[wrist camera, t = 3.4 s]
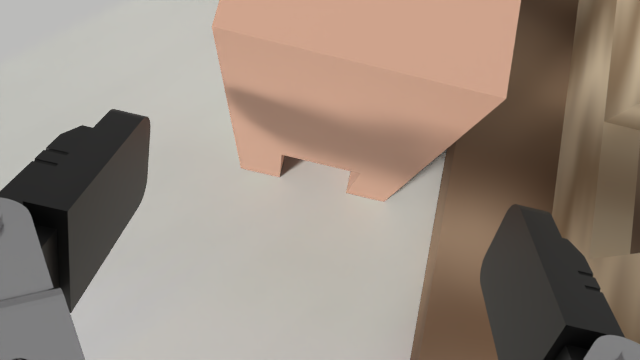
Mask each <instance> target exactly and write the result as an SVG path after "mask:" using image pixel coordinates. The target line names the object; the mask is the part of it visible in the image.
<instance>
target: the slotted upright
mask: <svg viewBox="0 0 640 360" xmlns="http://www.w3.org/2000/svg"><path fill="white" fill-rule="evenodd" d="M520 4H521V0H219V4H218V7H217V11H216V14H215V18H214V21H213V25H212V30H213V34H214V39H215V44H216V49H217V54H218V59H219V63H220V68H221V73H222V78H223V83H224V88H225V93H226V97H227V102H228V107H229V112H230V117H231V122H232V126H233V131H234V136H235V141H236V146H237V151H238V155H239V160H240V165H241V168H243V169H247V170H251V171H256V172H260V173H264V174H268V175H273V176H277V177H280V173H281V169H282V165H283V161H284V157H285V156H289V157H294V158H298V159H302V160H306V161H310V162H315V163H319V164H323V165H327V166H332V167H336V168H340V169H344V170H348V171H351V173H350V177H349V182H348V187H347V191H346V193H349V194H354V195H358V196H362V197H366V198H371V199H375V200H379V201H383V202H384V201H385V200H387V199H388V198H389V197H390V196H391V195H393V194H394V193H395V192H396V191H397V190H398V189H400V188H401V187H402V186H403V185H404V184H406V183H407V182H408V181H409V180H410V179H412V178H413V177H414V176H415V175H416V174H417V173H419V172H420V171H421V170H422V169H423V168H425V167H426V166H427V165H428V164H429V163H431V162H432V161H433V160H434V159H435V158H436V157H438V156H439V155H440V154H441V153H442V152H444V151H445V150H446V149H447V148H448V147H450V146H451V145H452V144H453V143H454V142H455V141H457V140H458V139H459V138H460V137H461V136H463V135H464V134H465V133H466V132H467V131H469V130H470V129H471V128H472V127H473V126H474V125H476V124H477V123H478V122H479V121H480V120H482V119H483V118H484V117H485V116H486V115H488V114H489V113H490V112H491V111H492V110H493V109H495V108H496V107H497V106H498V105H499V104H501V103H502V102H503V101H504V100H505V99H506V97H507V90H508V83H509V77H510V70H511V63H512V57H513V50H514V44H515V37H516V30H517V24H518V17H519V11H520Z"/></svg>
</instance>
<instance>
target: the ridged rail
mask: <svg viewBox="0 0 640 360" xmlns="http://www.w3.org/2000/svg"><path fill="white" fill-rule="evenodd" d="M514 204H518V205H522V206H526V207H530V208H535V209H539V210H543V211H547V212H549V213H550V214H551V215H552V217H553V219H554V221H555V223H556V226H557V228H558V230H559V232H560V234H561V236H562V238H565V239H568V240H569V241H570V242H571V243H572V244H573V245H574V246H575V247H576V248H577V249H578V250H579V251H580V252H581V253H582V254H583V255H584V256H585V258H586V260H587V262H588V264H589V266H590V268H591V270H592V272H593V277H594V278H596V280H597V282H598V284H599V286H600V288H601V289H600V292H602V293H603V294H604V296H605V298H606V300H607V302H608V304H609V306H610V308H611V310H612V312H613V314H614V316H615V318H616V320H617V322H618V324H619V326H620V328H621V330H622V332H623V334H624V336H625V338H627V339H630V340H632V341H634V342H636V343H638V344H640V0H521V4H520V11H519V17H518V24H517V30H516V37H515V44H514V50H513V57H512V63H511V70H510V77H509V83H508V90H507V97H506V99H505V100H504V101H503V102H502V103H501V104H499V105H498V106H497V107H496V108H495V109H493V110H492V111H491V112H490V113H489V114H488V115H486V116H485V117H484V118H483V119H482V120H480V121H479V122H478V123H477V124H476V125H474V126H473V127H472V128H471V129H470V130H469V131H467V132H466V133H465V134H464V135H463V136H461V137H460V138H459V139H458V140H457V141H455V142H454V143H453V144H452V145H451V146H450V147H448V148H447V151H446V157H445V162H444V168H443V174H442V180H441V186H440V191H439V197H438V203H437V209H436V214H435V220H434V226H433V232H432V237H431V243H430V249H429V255H428V260H427V266H426V272H425V278H424V283H423V289H422V295H421V301H420V307H419V312H418V318H417V324H416V330H415V335H414V341H413V347H412V353H411V358H410V360H498V356H497V352H496V348H495V344H494V339H493V335H492V331H491V327H490V323H489V318H488V314H487V310H486V306H485V302H484V297H483V293H482V289H481V284H480V271H481V266H482V262H483V259H484V257H485V254H486V252H487V250H488V248H489V246H490V244H491V242H492V240H493V238H494V236H495V234H496V232H497V230H498V228H499V226H500V224H501V222H502V220H503V218H504V216H505V214H506V212H507V211H508V209H509V208H510V207H511V206H512V205H514Z"/></svg>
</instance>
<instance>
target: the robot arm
mask: <svg viewBox="0 0 640 360" xmlns="http://www.w3.org/2000/svg"><path fill="white" fill-rule="evenodd" d="M149 141H150V120H149V118H148V117H145V116H141V115H137V114H133V113H128V112H124V111H120V110H116V109H112V110H110V111H109V112H108V113H107V114H106V115H105V116H104V117H103V118H102V119H101V120H100V121H99V122H98V123H97V124H96V125H95V127H94V128H91V127H87V126H83V125H82V126H79V127H77V128H75V129H72V130H70V131H67V132H65V133H63V134H60V135H59V136H58V137H57V138H56V139H55V140H54V141H53V142H52V143H51V144H50V145H49V146H48V147H46V151H45V150H43V151H42V152H41V153H40V154H39V155H38V156H37V157H36V158H35V161H34V162H33V161H32V162H31V163H30V164H29V165H28V166H26V167H25V168H24V169H23V170H22V171H21V172H20V173H19V174H18V175H17V176H16V177H15V178H14V179H13V180H12V181H11V182H10V183H9V184H7V185H6V186H5V187H4V188H3V189H2V190H1V191H0V360H85V358H84V355H83V352H82V349H81V346H80V343H79V340H78V337H77V334H76V330H75V327H74V324H73V321H72V318H71V315H70V313H71V312H72V310H73V309H74V307H75V306H76V304H77V303H78V301H79V299H80V298H81V296H82V295H83V293H84V292H85V290H86V288H87V287H88V285H89V284H90V282H91V281H92V279H93V277H94V276H95V274H96V273H97V271H98V270H99V268H100V266H101V265H102V263H103V262H104V260H105V259H106V257H107V255H108V254H109V252H110V251H111V249H112V248H113V246H114V244H115V243H116V241H117V240H118V238H119V237H120V235H121V233H122V232H123V230H124V229H125V227H126V226H127V224H128V222H129V221H130V219H131V218H132V216H133V215H134V213H135V211H136V210H137V208H138V207H139V205H140V203H141V201H142V198H143V195H144V192H145V188H146V183H147V174H148V157H149ZM480 284H481V289H482V293H483V297H484V302H485V306H486V310H487V314H488V318H489V323H490V327H491V331H492V335H493V339H494V344H495V348H496V352H497V356H498V360H640V344H638V343H636V342H634V341H632V340H630V339H627V338H625V336H624V334H623V332H622V330H621V328H620V326H619V324H618V322H617V320H616V318H615V316H614V314H613V312H612V310H611V308H610V306H609V304H608V302H607V300H606V298H605V296H604V294H603V293H602V292H600V289H601V288H600V286H599V284H598V282H597V280H596V278H594V277H593V272H592V270H591V268H590V266H589V264H588V262H587V260H586V258H585V256H584V255H583V254H582V253H581V252H580V251H579V250H578V249H577V248H576V247H575V246H574V245H573V244H572V243H571V242H570V241H569V240H568V239H565V238H562V236H561V234H560V232H559V230H558V228H557V226H556V223H555V221H554V219H553V217H552V215H551V214H550V213H549V212H547V211H543V210H539V209H535V208H530V207H526V206H522V205H518V204H514V205H512V206H511V207H510V208H509V209H508V211H507V212H506V214H505V216H504V218H503V220H502V222H501V224H500V226H499V228H498V230H497V232H496V234H495V236H494V238H493V240H492V242H491V244H490V246H489V248H488V250H487V252H486V254H485V257H484V259H483V262H482V266H481V271H480Z"/></svg>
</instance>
